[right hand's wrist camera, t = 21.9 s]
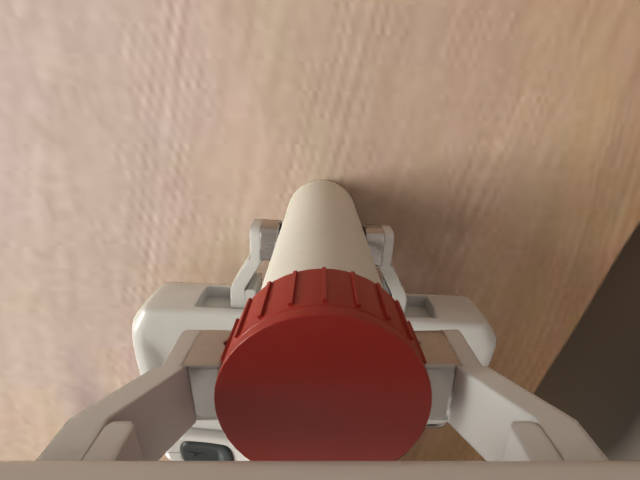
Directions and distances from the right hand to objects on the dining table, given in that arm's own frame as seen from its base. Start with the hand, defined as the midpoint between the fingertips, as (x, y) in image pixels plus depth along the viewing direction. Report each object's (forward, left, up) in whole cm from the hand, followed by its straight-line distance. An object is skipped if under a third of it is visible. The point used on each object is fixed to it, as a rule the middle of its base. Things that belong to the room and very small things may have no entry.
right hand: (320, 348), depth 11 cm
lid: (0, 0, +2) cm, 2 cm away
